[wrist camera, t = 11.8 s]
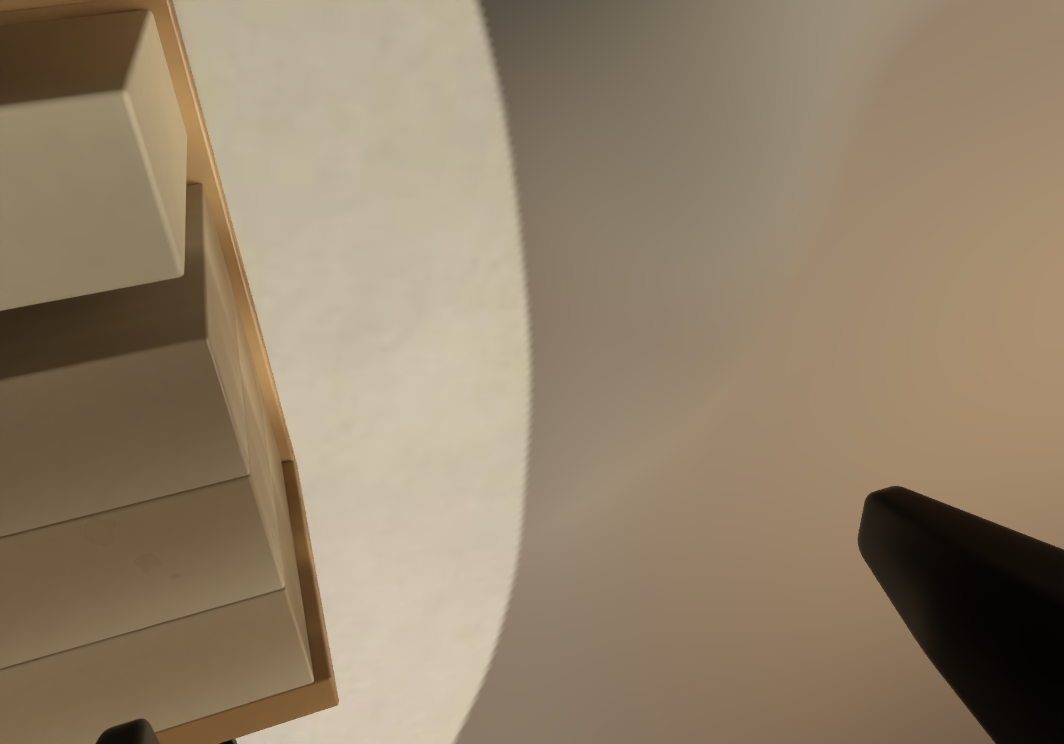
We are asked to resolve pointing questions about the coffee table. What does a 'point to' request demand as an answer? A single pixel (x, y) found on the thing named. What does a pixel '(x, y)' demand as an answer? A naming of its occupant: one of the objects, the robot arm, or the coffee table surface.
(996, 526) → the robot arm
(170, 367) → the brown rack
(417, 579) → the coffee table surface
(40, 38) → the cream book
